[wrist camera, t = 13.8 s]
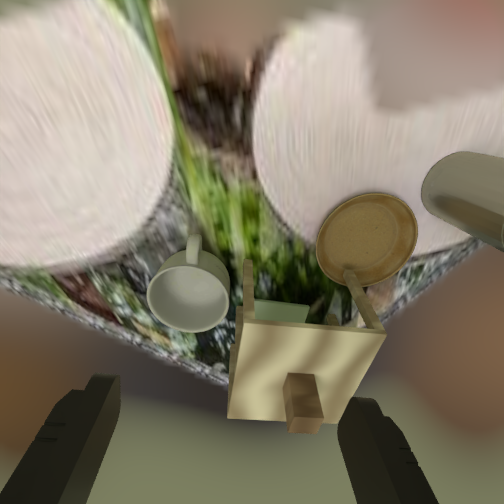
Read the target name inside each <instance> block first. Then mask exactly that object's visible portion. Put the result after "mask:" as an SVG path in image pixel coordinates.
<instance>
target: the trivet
mask: <svg viewBox="0 0 504 504" xmlns="http://www.w3.org/2000/svg"><path fill="white" fill-rule="evenodd" d="M254 307H255V319H258V320H270V321H282V322H294V323H305V321H306V317H307V314H308V311H309V308H310V307H309V305H302V304H294V303H286V302H278V301H270V300H262V299H254Z"/></svg>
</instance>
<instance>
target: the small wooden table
mask: <svg viewBox="0 0 504 504" xmlns="http://www.w3.org/2000/svg"><path fill="white" fill-rule="evenodd" d="M343 277H344V280H345V282H346V284H347V286H348V288H349V290H350V292H351V295H352V297H353V299H354V301H355V303H356V305H357V307H358V309H359V312H360V314H361V316H362V318H363V320H364V322H365V324H366V327H367V329H366V328H354V327H342V326H339V323H338V321H337V318H336V315H335V314H328V315H327V318H326V320H327V323H328V325H318V324H306V323H294V322H282V321H270V320H258V319H255V307H254V286H253V264H252V260H249V259H244V263H243V306H237V308H236V331H235V344H231V347H230V368H229V390H228V393H229V394H228V414H227V418H231V419H253V420H272V421H286V422H287V430H288V432H289V433H308V434H309V433H310V434H316V433H317V432H318V430H319V427H320V426H321V424H322V423H332V424H337V423H338V421H339V419H340V417H341V416H342V414H343V412H344V410H345V408H346V406H347V404H348V402H349V400H350V398H351V397H352V396H353V394H354V392H355V391H356V389H357V387H358V385H359V384H360V382H361V380H362V378H363V377H364V375H365V373H366V371H367V370H368V368H369V366H370V364H371V362H372V361H373V359H374V357H375V355H376V354H377V352H378V350H379V348H380V346H381V344H382V343H383V341H384V339H385V338H386V336H387V334H386V332H385V330H384V328H383V326H382V324H381V322H380V320H379V319H378V317H377V315H376V313H375V311H374V309H373V307H372V305H371V303H370V302H369V300H368V298H367V296H366V294H365V292H364V290H363V288H362V287H361V285H360V283H359V281H358V279H357V277H356V275H355V273H354V271H353V270H346V269H345V271H344V274H343Z"/></svg>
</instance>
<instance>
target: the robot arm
mask: <svg viewBox="0 0 504 504" xmlns="http://www.w3.org/2000/svg"><path fill="white" fill-rule="evenodd" d="M421 195H422V202H423V204H424V206H425V208H426V209H427V210H428V211H429V212H430V213H431V214H433V215H435V216H437V217H439V218H440V219H442V220H444V221H446V222H448V223H450V224H451V225H453V226H455V227H457V228H459V229H461V230H463V231H465V232H466V233H468V234H470V235H472V236H474V237H476V238H478V239H480V240H481V241H483V242H485V243H487V244H489V245H491V246H493V247H495V248H496V249H498V250H500V251H502V252H504V158H500V157H495V156H490V155H484V154H478V153H472V152H458V153H454V154H451V155H449V156H447V157H445V158H443V159H442V160H440V161H439V162H438V163H437V164H436V165H435V166H434V167H433V168H432V169H431V170H430V172H429V173H428V175H427V176H426V178H425V180H424V183H423V186H422V193H421ZM120 402H121V399H120V375H116V374H104V373H95V374H93V376H92V377H91V379H90V380H89V382H88V384H87V386H86V388H85V390H73V389H72V390H71V391H70V392H69V393H68V394H66V396H64V397H63V398H62V399H61V400H60V401H59V402H57V403H56V404H55V406H54V408H53V409H52V411H51V412H50V414H49V416H48V417H47V419H46V420H45V423H44V425H43V426H42V427H41V429H40V430H39V432H38V434H37V435H36V437H35V440H34V441H32V443H31V445H30V446H29V448H28V450H27V451H26V453H25V454H24V456H23V458H22V459H21V461H20V463H19V464H18V466H17V467H16V469H15V471H14V472H13V474H12V475H11V477H10V479H9V480H8V482H7V484H6V485H5V487H4V488H3V490H2V491H1V493H0V504H86V502H87V499H88V497H89V494H90V492H91V489H92V487H93V484H94V481H95V479H96V476H97V474H98V471H99V468H100V466H101V463H102V461H103V458H104V455H105V453H106V450H107V448H108V445H109V442H110V440H111V437H112V435H113V432H114V429H115V427H116V424H117V421H118V417H119V413H120V406H121V403H120ZM337 434H338V441H339V445H340V448H341V452H342V454H343V458H344V461H345V465H346V468H347V471H348V475H349V478H350V481H351V484H352V488H353V491H354V494H355V497H356V501H357V504H439V503H438V501H437V499H436V497H435V495H434V493H433V491H432V489H431V487H430V485H429V483H428V481H427V479H426V477H425V476H424V473H423V471H422V470H421V468H420V467H419V466H418V462H417V460H416V458H415V456H414V454H413V452H411V448H410V446H409V444H408V442H407V440H406V439H405V436H404V434H403V432H402V431H401V430H400V429H399V428H398V426H397V425H396V424H395V423H394V422H393V420H392V419H391V418H390V417H387V416H384V415H383V414H382V411H381V409H380V407H379V405H378V403H377V402H376V401H375V400H374V399H372V398H361V397H351V398H350V400H349V402H348V404H347V406H346V408H345V410H344V413H343V415H342V417H341V419H340V421H339V424H338V430H337Z"/></svg>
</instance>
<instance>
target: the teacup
mask: <svg viewBox="0 0 504 504" xmlns="http://www.w3.org/2000/svg"><path fill="white" fill-rule="evenodd" d="M229 294H230V278H229V274H228V271H227V269H226V267H225V266H224V264H223V263H222V262H221V261H220V260H219V259H218V258H217V257H216V256H214V255H213V254H211V253H209V252H206V251H203V250H202V237H201V236H200V235H198V234H191V235H190V236H189V238H188V242H187V247H186V250H183V251H180V252H177V253H175V254H174V255H172V256H171V257H169V258H168V259H167V260H166V261H165V263H164V264H163V265H162V266H161V268H160V269H159V271H158V272H157V274H156V275H155V276H154V277H153V279H152V280H151V282H150V284H149V286H148V290H147V301H148V305H149V307H150V309H151V311H152V313H153V314H154V315H155V317H156V318H157V319H158V320H160V321H161V322H162V323H163V324H165V325H167V326H169V327H171V328H173V329H175V330H179V331H182V332H203V331H206V330H209V329H211V328H213V327H215V326H216V325H218V324H219V323H220V322H221V321H222V320H223V319H224V317H225V316H226V314H227V311H228V308H229Z"/></svg>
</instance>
